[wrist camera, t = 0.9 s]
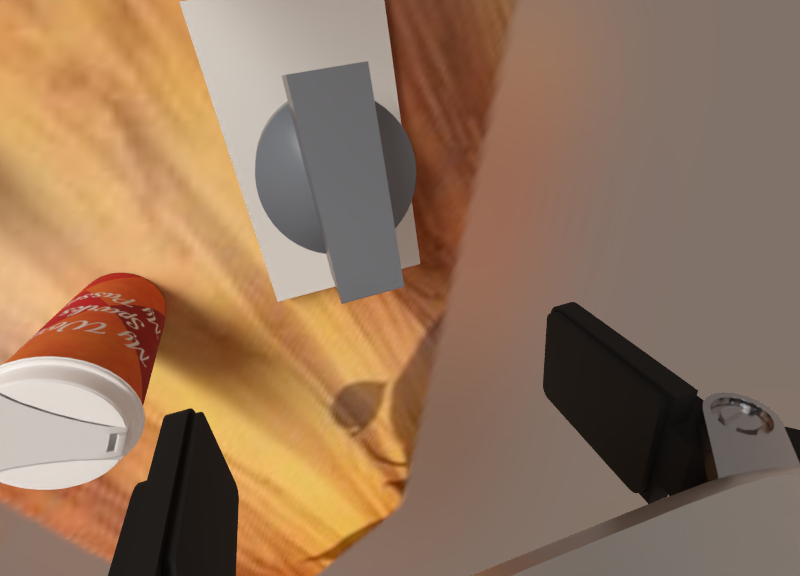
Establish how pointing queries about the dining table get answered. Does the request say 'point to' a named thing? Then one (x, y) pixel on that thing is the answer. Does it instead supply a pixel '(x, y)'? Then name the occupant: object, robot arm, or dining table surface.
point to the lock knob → (338, 176)
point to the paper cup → (80, 386)
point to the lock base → (264, 93)
